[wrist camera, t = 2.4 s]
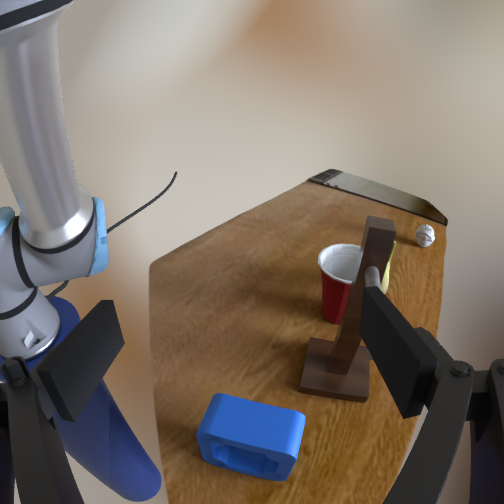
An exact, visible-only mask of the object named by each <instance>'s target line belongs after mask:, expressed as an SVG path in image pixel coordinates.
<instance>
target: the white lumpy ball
mask: <svg viewBox="0 0 504 504" xmlns="http://www.w3.org/2000/svg"><path fill="white" fill-rule="evenodd" d="M415 236H416V241H417V243H418V245H419V246H421V247H427V246H429V245H430V244H431V243H432V242H433V241H434V239H435V238H434V231H433V229H432V228H431V226H430V225H427V224H425V225H421V226H420V227H419V228H418V229H417V230H416V232H415Z"/></svg>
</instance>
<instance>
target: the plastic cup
mask: <svg viewBox="0 0 504 504" xmlns="http://www.w3.org/2000/svg"><path fill="white" fill-rule="evenodd" d="M359 251H360V246H357V245H353V244H336V245H331V246H329V247H327V248H324V249H323V250H322V251H321V253H320V254H319V257H318V263H319V266H320V267H321V272H322V301H323V307H322V312H323V315H324V317H325V319H327V320H328V321H329V322H331V323H334V324H340V322H341V318H342V315H343V312H344V308H345V305H346V301H347V298H348V294H349V290H350V287H351V283H352V279H353V275H354V271H355V267H356V263H357V259H358V255H359Z"/></svg>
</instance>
